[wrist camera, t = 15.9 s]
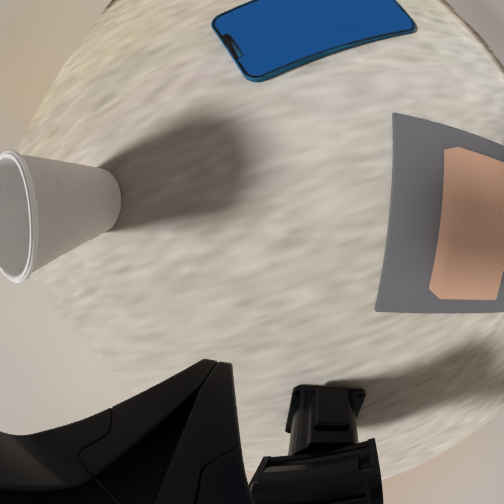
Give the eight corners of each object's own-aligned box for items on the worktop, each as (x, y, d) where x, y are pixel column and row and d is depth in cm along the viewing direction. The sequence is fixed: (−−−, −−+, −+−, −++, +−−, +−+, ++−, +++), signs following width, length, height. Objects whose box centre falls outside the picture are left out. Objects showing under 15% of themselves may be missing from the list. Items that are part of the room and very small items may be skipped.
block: (427, 287, 17) (482, 289, 16) (439, 299, 15) (495, 299, 14) (443, 149, 14) (498, 166, 13) (457, 146, 12) (514, 166, 11)
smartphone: (420, 30, 12) (249, 84, 15) (416, 35, 13) (251, 89, 16) (367, -28, 11) (206, 20, 14) (365, -22, 12) (210, 25, 15)
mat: (501, 310, 16) (503, 312, 15) (374, 309, 18) (375, 311, 18) (522, 156, 12) (525, 155, 12) (392, 113, 15) (393, 112, 14)
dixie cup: (139, 247, 21) (45, 290, 11) (74, 248, 22) (-7, 278, 13) (132, 144, 19) (30, 132, 9) (67, 162, 20) (-19, 166, 11)
